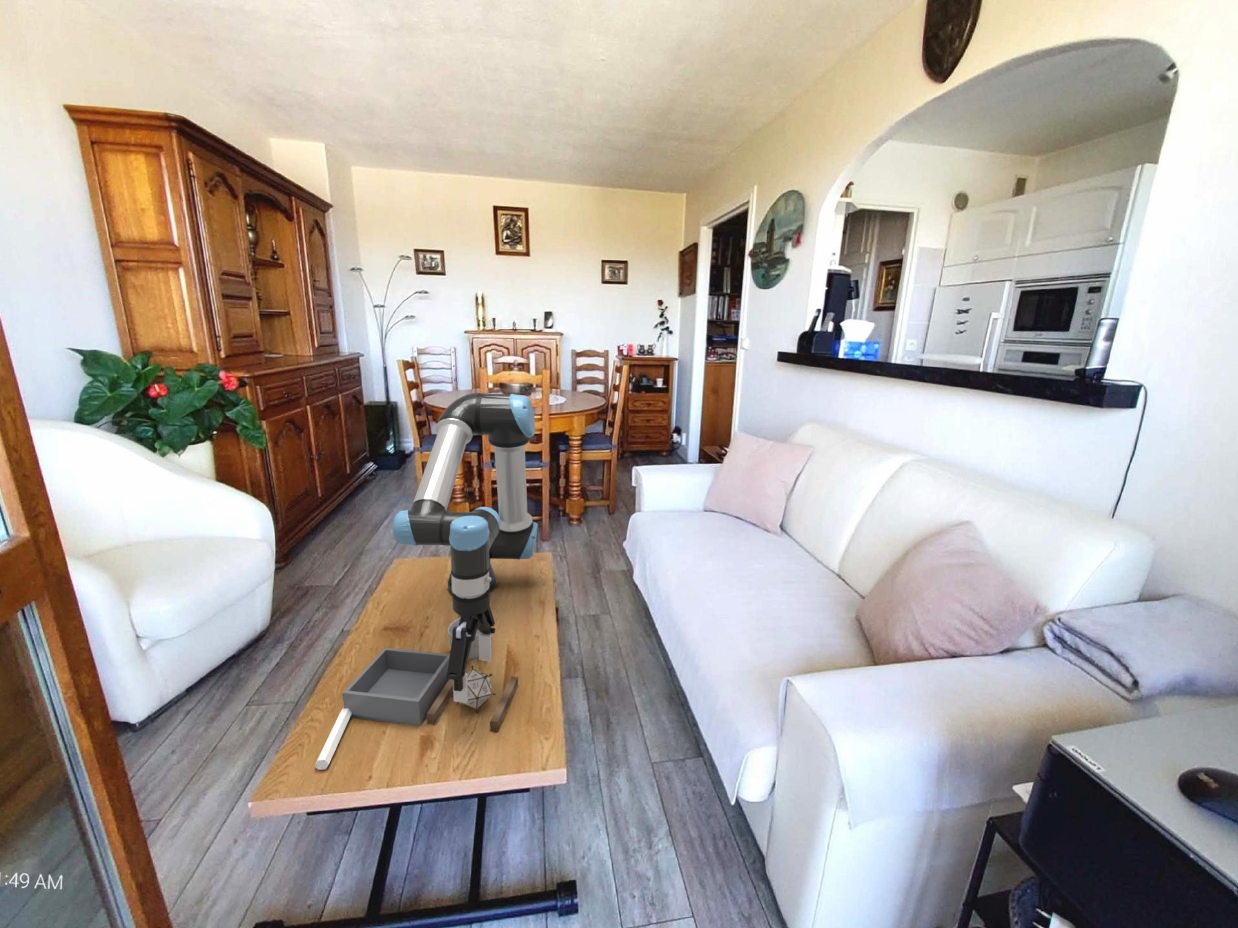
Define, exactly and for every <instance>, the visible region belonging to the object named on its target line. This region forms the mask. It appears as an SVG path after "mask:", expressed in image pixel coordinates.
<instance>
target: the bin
mask: <svg viewBox="0 0 1238 928" xmlns="http://www.w3.org/2000/svg"><path fill="white" fill-rule="evenodd" d="M449 658H450V654H449V653H440V652H432V651H431V652H430V651H422V650H411V649H404V648H394V647H393V648H392V647H383V649H382V650H381V651H380V652H379V653H378V654H377V655H376V656H375V658H373V659H372V661H371V662H370V663H369V664H368V665H367V666H366V667H365V668H363V670H362V672H360V674H358V676H357V677H355V679H354V680H353V681H352V682H351V683H350V684H349V685H348V686H347V688H346V689H344V690H343V692H342V693H341V694H342V700H343V701H342V702H343V709H344V708H349V710H350V711H351V712H352V714H351V716H350V718H351V719H358V720H367V721H376V722H383V723H392V724H401V725H408V726H417V727H421V725H422V724H423V723H424V721H425V720H426V719H427V712H428V711H429V709H430V708H431V706H432V705H433V703H434V702H435V700H436V699H437V697H438V696H439V694H440V693H441V691H442V690H443V688H444V687H445V685H446V683H447V682H448V680H449V679H447V671H448V665H449ZM350 718H349V719H350Z"/></svg>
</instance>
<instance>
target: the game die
mask: <svg viewBox="0 0 1238 928" xmlns="http://www.w3.org/2000/svg"><path fill="white" fill-rule="evenodd" d="M470 667H471V670H469V672H466V673H467V684H468V701H467V703H463V702H455V705H456V706H457V705H460V704H463V705H464V706H467V707H470V708H472V709H475V713H476V714H478V712H479V708H480V707H481V706H482V705H483V704H484V703H485V702H486V701H488V699H489V698H490V697H491V696H492V695H493V697H494V696H496V695H497V694H496V693H495V692H493V689H492V688H493V687H492V682H491V677H492V676H493V673H489V675H488V674H487V673H484V672H481V671H480V670H477V669H476V668H475V666H474V665H473V664H472V665H471V666H470ZM474 668H475V669H474Z"/></svg>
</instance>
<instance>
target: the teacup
mask: <svg viewBox="0 0 1238 928" xmlns="http://www.w3.org/2000/svg"><path fill="white" fill-rule="evenodd" d="M460 618H461V617H460V616H459V617H458V618H456V619H455V620H453V621H452V622H451V623H450V624H449V625H448V626H447V630H446V631H447V635H448V640H449V641H448V642H449V647H450V648H451V645H452V631H453V627H459V621H460ZM479 634H482V632H480V631H479V630H478V629H477V632H476V636H475V640H474V641H473V642H472V643H471V648H470V652H469V657H468V660H475V659H479V636H478V635H479ZM490 635H491V645H492V643H493V633H490ZM467 636H469V637H470V636H471V635H467Z"/></svg>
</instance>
